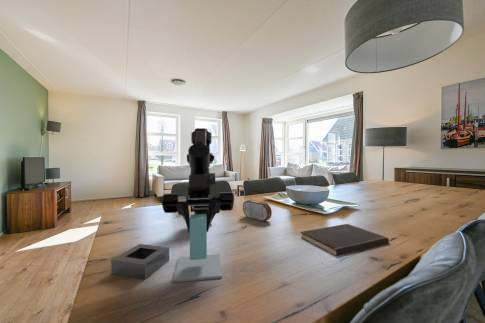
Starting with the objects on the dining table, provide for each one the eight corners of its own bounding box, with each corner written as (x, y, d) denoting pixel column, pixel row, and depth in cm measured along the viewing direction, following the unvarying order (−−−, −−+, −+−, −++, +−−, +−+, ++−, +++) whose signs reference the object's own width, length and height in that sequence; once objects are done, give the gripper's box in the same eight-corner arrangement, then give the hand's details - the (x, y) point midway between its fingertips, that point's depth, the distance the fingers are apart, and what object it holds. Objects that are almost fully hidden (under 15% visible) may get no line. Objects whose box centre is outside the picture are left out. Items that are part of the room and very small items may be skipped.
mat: (178, 258, 58) (178, 257, 58) (219, 255, 60) (219, 254, 60) (172, 282, 47) (172, 280, 47) (221, 277, 49) (221, 275, 49)
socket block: (139, 256, 60) (139, 243, 60) (169, 260, 57) (169, 247, 57) (111, 274, 51) (111, 259, 51) (145, 279, 48) (144, 264, 48)
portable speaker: (272, 222, 91) (272, 202, 91) (267, 223, 89) (267, 203, 89) (246, 215, 102) (246, 198, 102) (241, 216, 99) (241, 198, 99)
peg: (191, 252, 55) (190, 214, 55) (206, 251, 56) (206, 213, 56) (189, 260, 51) (189, 219, 51) (206, 258, 52) (206, 218, 52)
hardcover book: (300, 238, 75) (300, 231, 75) (347, 229, 84) (347, 223, 84) (336, 258, 60) (336, 250, 60) (389, 244, 69) (389, 237, 69)
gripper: (162, 163, 55) (152, 216, 45) (233, 162, 59) (239, 213, 48) (168, 188, 63) (160, 239, 53) (230, 187, 67) (234, 235, 56)
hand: (198, 231), depth 52 cm, fingers closed on peg, 4 cm apart
